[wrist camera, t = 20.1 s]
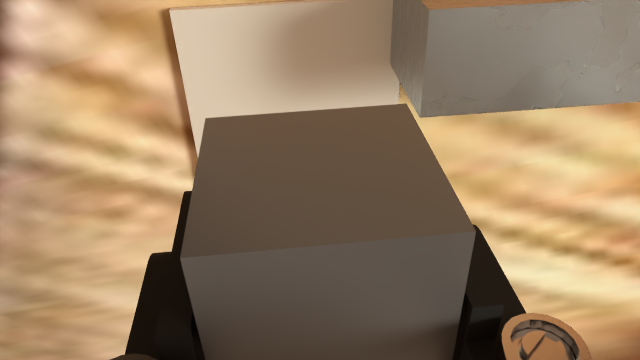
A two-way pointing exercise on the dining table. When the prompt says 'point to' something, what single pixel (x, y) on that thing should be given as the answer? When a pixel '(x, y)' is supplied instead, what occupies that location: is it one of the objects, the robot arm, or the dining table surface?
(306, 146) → the cream rectangular bar
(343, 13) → the mat
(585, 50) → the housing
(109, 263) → the dining table surface
